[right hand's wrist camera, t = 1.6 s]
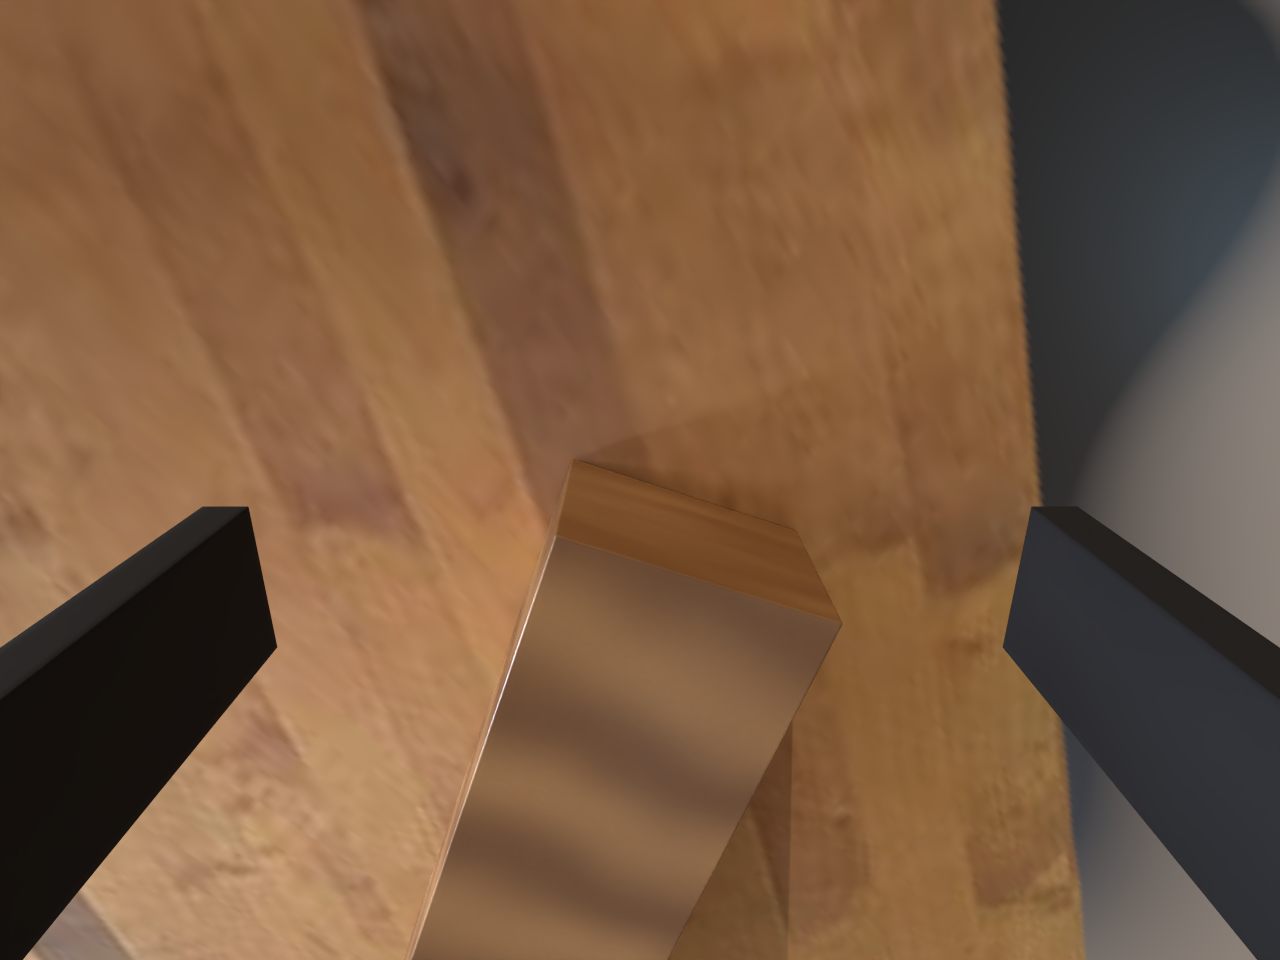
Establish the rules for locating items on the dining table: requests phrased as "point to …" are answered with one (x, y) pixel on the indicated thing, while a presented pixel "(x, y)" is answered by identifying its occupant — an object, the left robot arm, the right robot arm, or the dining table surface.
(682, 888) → the wide beam
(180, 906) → the dining table surface
